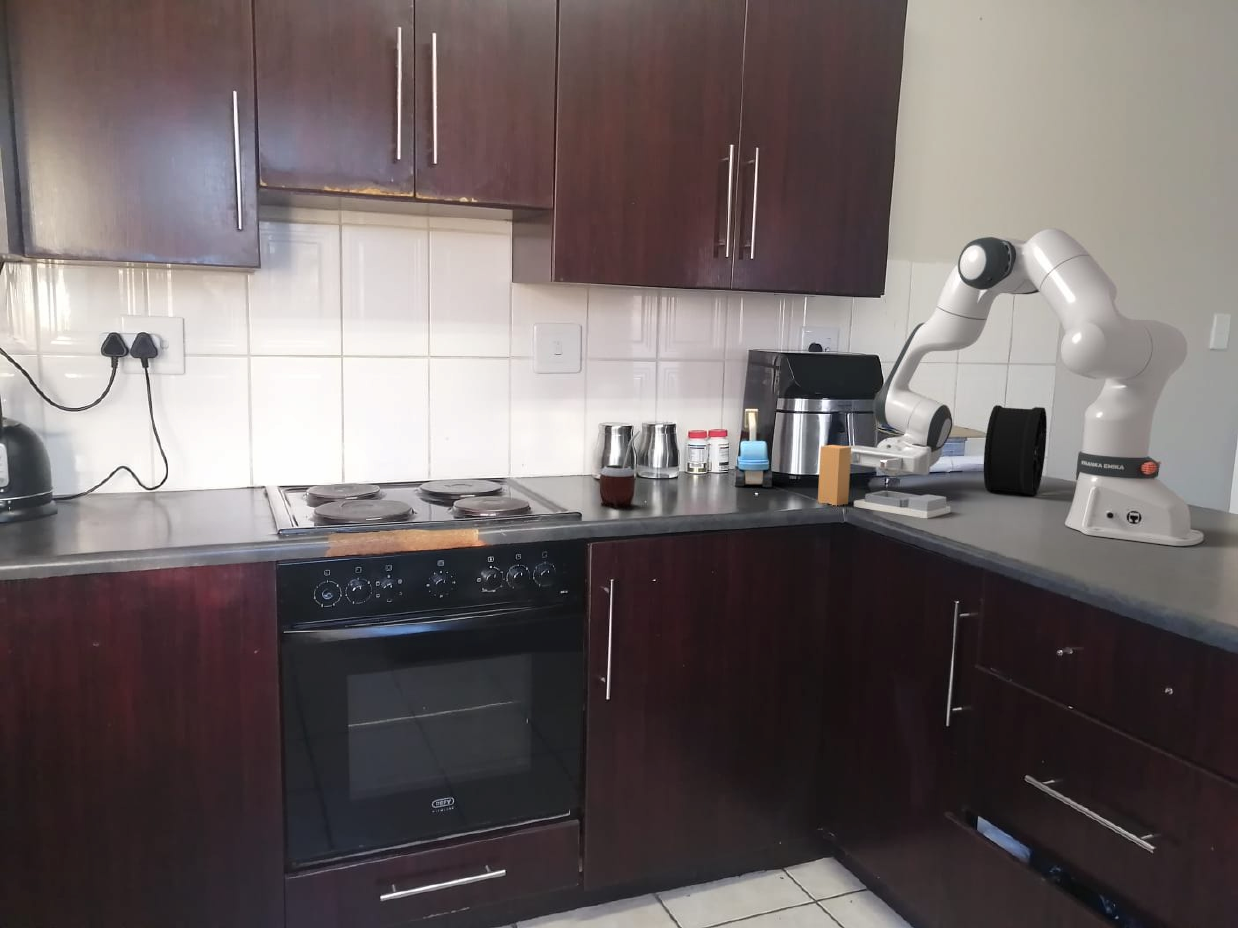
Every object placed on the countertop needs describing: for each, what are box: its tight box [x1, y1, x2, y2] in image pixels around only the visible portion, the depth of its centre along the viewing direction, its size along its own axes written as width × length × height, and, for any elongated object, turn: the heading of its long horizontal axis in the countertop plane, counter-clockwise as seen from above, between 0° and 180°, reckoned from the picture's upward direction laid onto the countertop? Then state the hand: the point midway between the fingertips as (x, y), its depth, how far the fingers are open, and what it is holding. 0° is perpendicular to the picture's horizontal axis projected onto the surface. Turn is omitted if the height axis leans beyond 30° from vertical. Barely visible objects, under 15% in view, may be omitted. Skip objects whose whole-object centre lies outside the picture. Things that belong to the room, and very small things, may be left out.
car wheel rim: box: [983, 404, 1048, 496], centre depth 213 cm, size 20×10×20 cm, turn 148°
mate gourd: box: [598, 429, 641, 510], centre depth 185 cm, size 8×8×15 cm
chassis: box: [853, 490, 951, 519], centre depth 189 cm, size 16×10×3 cm, turn 45°
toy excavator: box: [733, 408, 773, 488], centre depth 218 cm, size 9×17×17 cm, turn 174°
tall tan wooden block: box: [817, 444, 851, 507], centre depth 194 cm, size 4×4×12 cm
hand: (863, 461), depth 203 cm, fingers open, 8 cm apart
